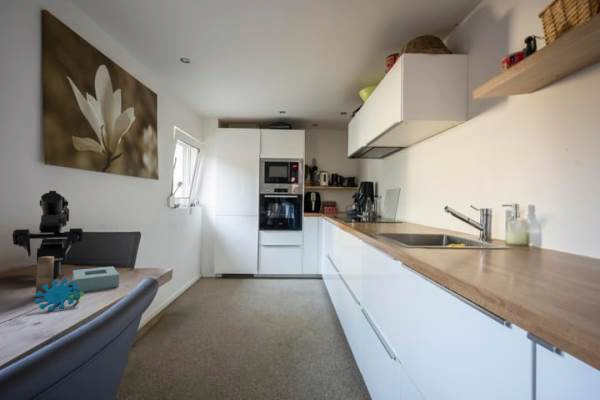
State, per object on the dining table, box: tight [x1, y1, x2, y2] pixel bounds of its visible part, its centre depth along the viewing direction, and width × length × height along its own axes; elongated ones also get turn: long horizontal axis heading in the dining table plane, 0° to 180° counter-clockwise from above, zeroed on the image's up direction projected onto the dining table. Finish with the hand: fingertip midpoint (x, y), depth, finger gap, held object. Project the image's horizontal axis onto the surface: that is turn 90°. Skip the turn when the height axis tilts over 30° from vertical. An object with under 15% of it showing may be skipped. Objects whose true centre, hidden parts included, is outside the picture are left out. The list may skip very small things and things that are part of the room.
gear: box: [34, 278, 85, 312], centre depth 82 cm, size 11×6×10 cm
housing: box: [71, 265, 120, 293], centre depth 104 cm, size 16×13×4 cm
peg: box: [35, 256, 54, 298], centre depth 91 cm, size 4×4×12 cm
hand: (47, 254), depth 95 cm, fingers open, 9 cm apart
